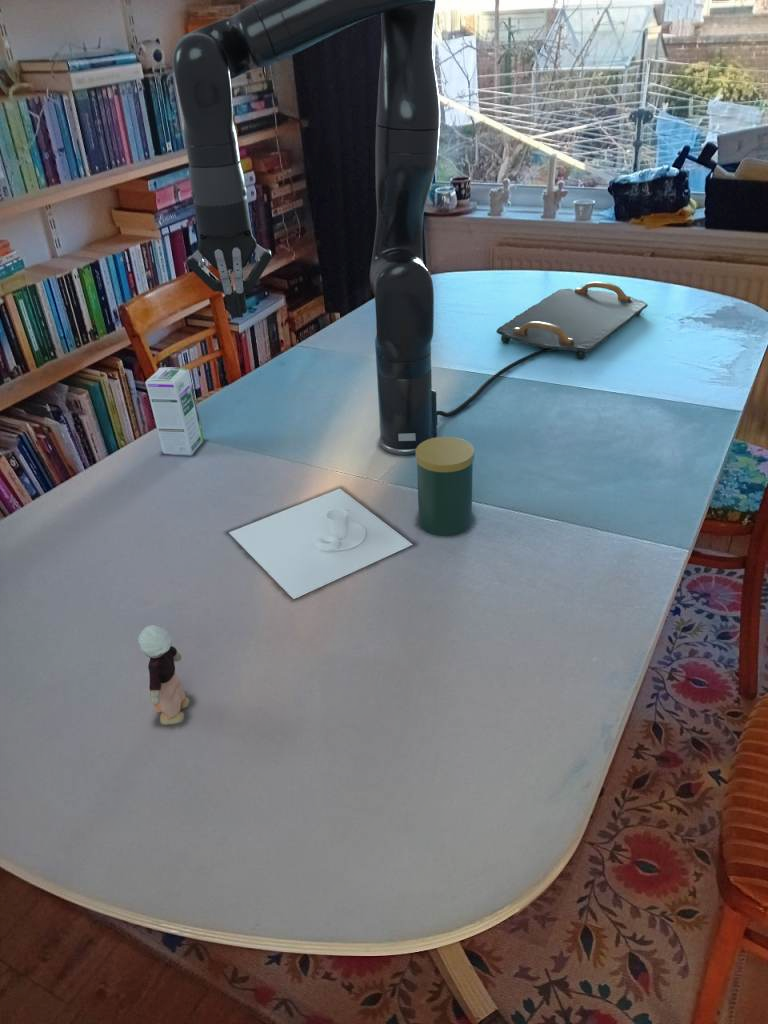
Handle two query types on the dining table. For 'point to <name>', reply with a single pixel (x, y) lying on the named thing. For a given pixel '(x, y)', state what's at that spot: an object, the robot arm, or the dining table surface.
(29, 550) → the dining table surface
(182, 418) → the syrup box
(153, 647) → the grandmother figurine
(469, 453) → the tea tin
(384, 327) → the robot arm
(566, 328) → the serving tray
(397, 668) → the dining table surface
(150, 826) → the dining table surface
